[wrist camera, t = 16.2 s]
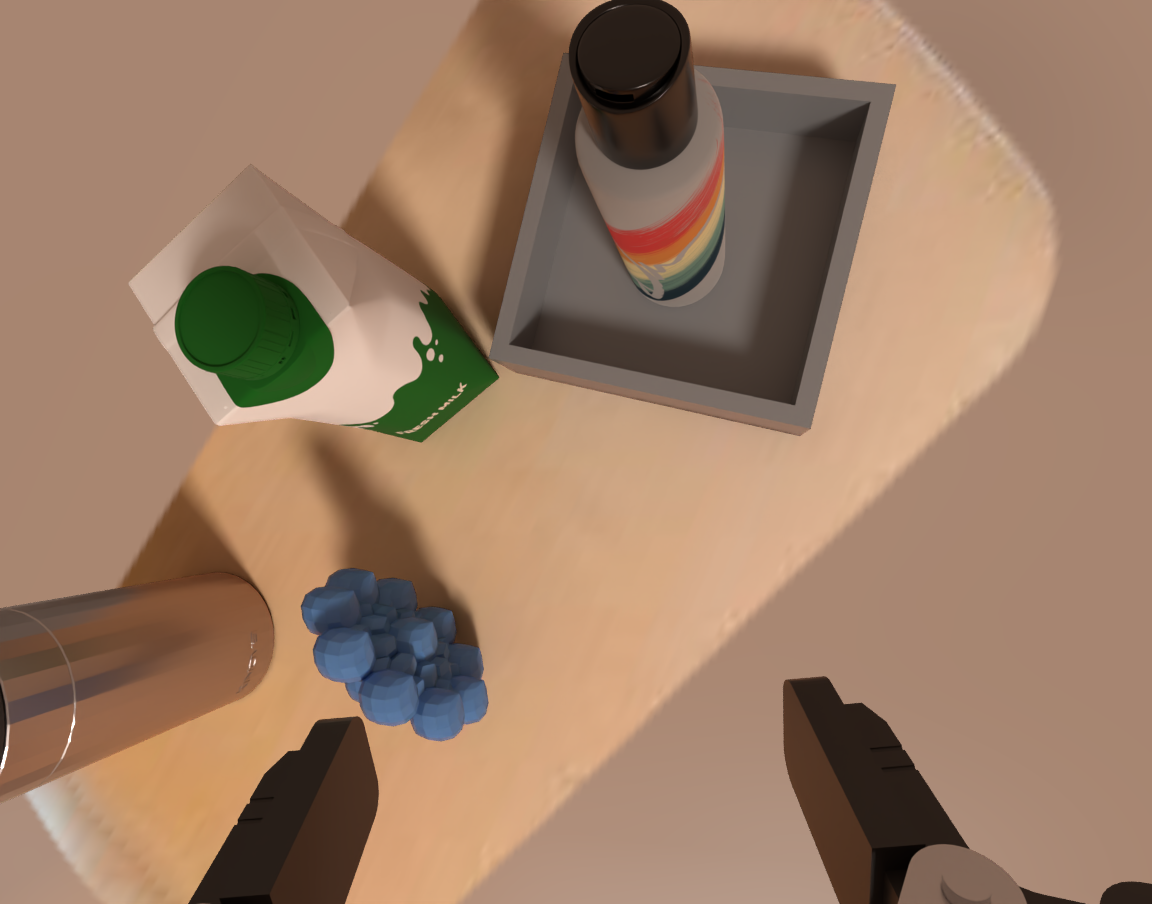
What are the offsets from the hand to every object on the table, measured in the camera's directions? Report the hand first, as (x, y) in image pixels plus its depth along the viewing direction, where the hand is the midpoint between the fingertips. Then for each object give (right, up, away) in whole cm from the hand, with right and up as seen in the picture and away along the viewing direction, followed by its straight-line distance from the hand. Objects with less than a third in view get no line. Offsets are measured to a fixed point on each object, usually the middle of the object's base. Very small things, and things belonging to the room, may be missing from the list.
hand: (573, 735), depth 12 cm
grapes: (-9, -7, +30) cm, 32 cm away
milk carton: (-10, +11, +31) cm, 35 cm away
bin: (+7, +17, +28) cm, 33 cm away
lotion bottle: (+6, +17, +27) cm, 32 cm away
